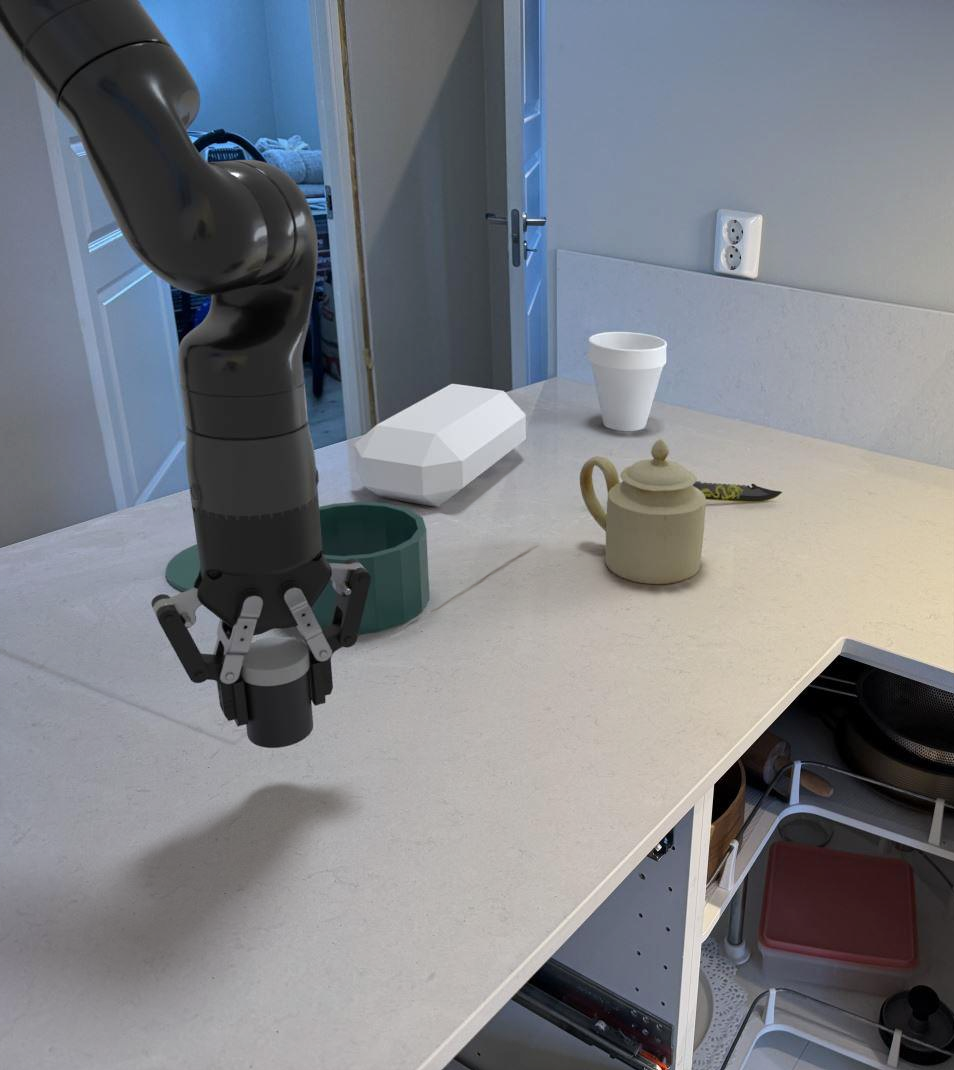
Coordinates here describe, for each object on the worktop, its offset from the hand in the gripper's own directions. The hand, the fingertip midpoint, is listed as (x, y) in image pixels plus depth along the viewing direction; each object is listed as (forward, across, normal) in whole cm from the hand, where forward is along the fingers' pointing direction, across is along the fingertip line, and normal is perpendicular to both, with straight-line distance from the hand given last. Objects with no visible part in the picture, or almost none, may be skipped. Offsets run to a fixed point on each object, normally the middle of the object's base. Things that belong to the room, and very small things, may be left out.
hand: (278, 708), depth 71 cm
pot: (+7, -14, -25) cm, 29 cm away
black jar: (+2, 0, 0) cm, 2 cm away
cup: (+7, -69, -64) cm, 95 cm away
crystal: (+7, -35, -55) cm, 66 cm away
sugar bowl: (+7, -44, -21) cm, 49 cm away
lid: (+7, -6, -38) cm, 39 cm away
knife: (+7, -61, -32) cm, 69 cm away
